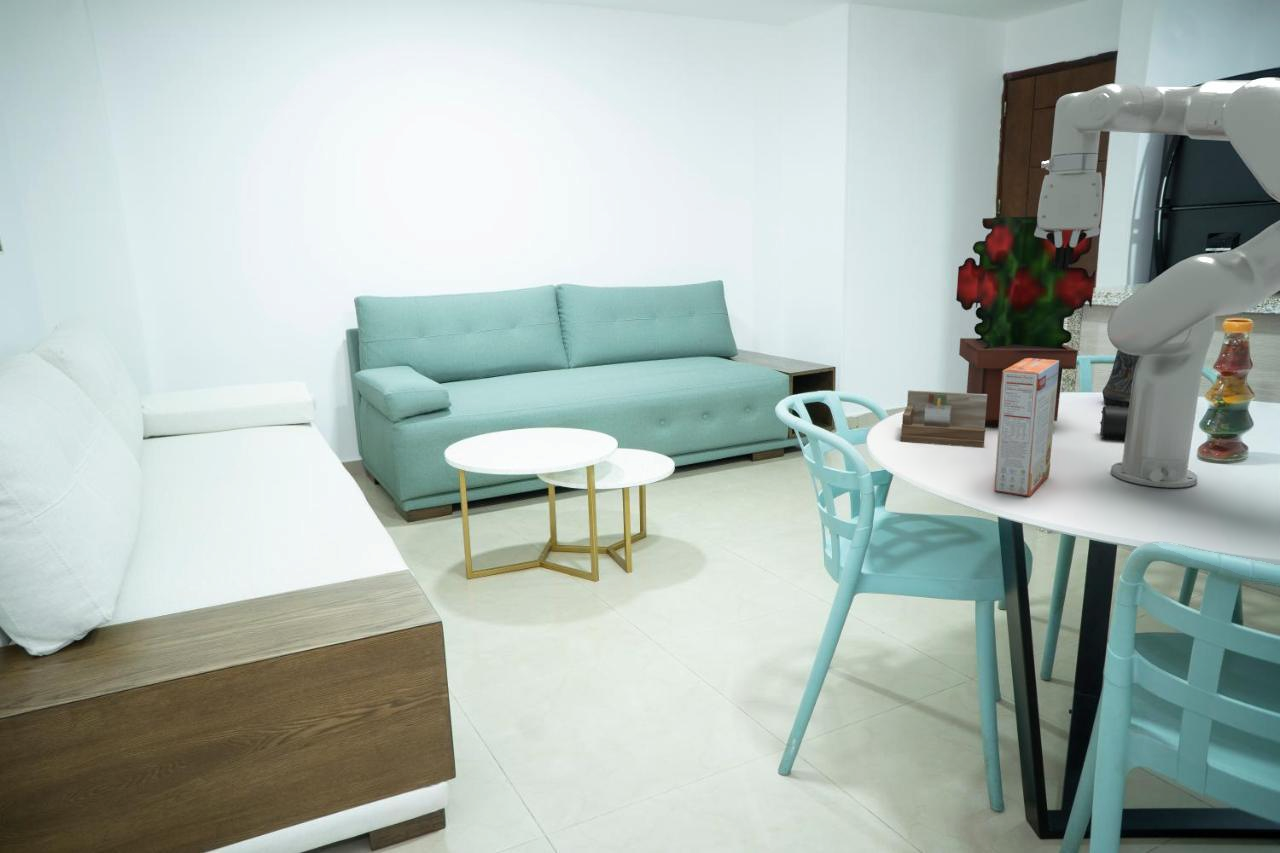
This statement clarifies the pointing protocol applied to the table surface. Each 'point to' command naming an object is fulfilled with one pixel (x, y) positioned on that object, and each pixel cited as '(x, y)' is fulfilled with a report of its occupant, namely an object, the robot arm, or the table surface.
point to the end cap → (1114, 422)
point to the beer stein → (1120, 380)
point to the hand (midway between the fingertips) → (1062, 268)
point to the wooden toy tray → (963, 423)
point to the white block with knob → (937, 415)
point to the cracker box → (1026, 425)
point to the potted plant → (1019, 304)
